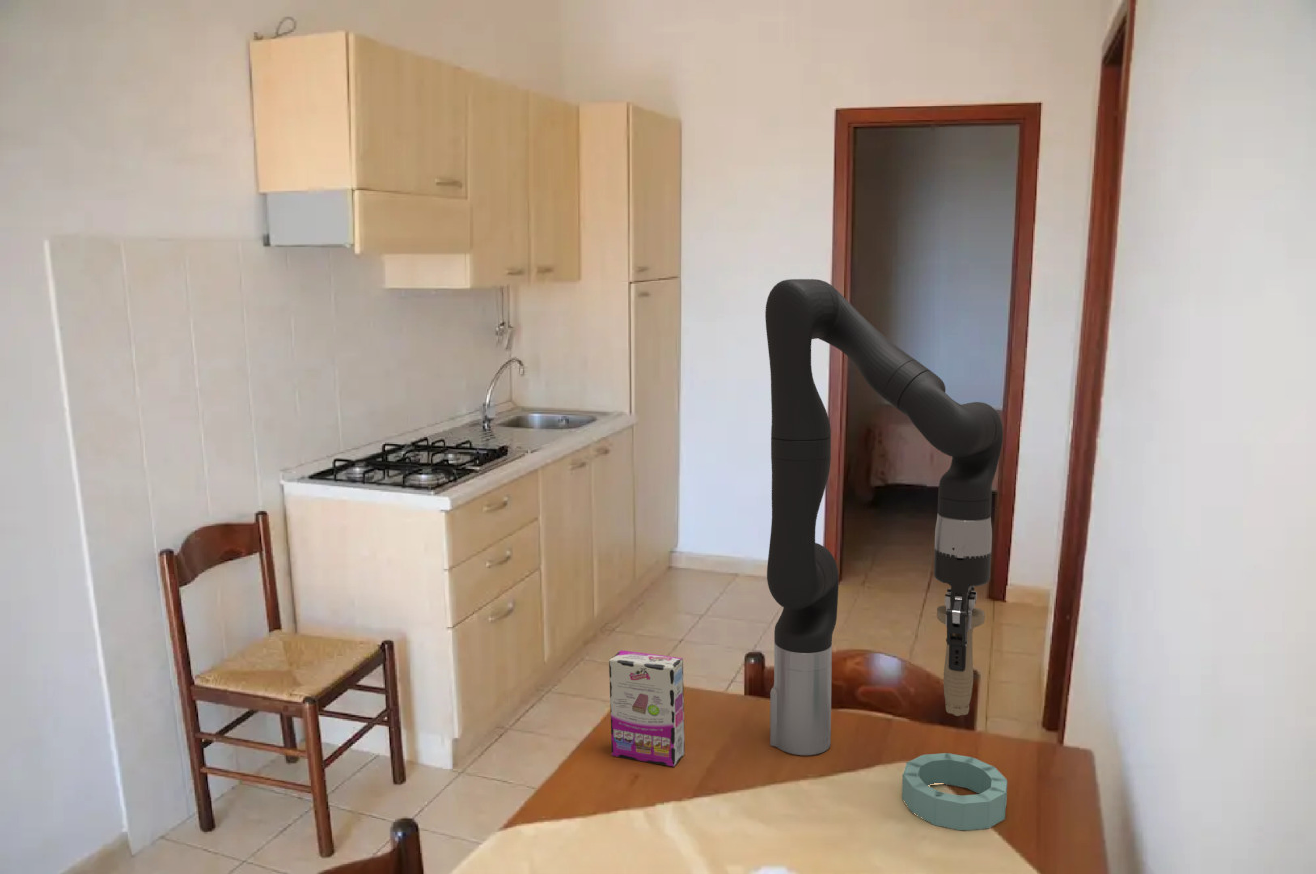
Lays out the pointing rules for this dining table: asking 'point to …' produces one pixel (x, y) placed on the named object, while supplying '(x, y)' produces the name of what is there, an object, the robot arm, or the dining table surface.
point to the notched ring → (950, 807)
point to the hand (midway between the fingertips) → (958, 664)
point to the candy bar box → (647, 707)
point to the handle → (957, 681)
